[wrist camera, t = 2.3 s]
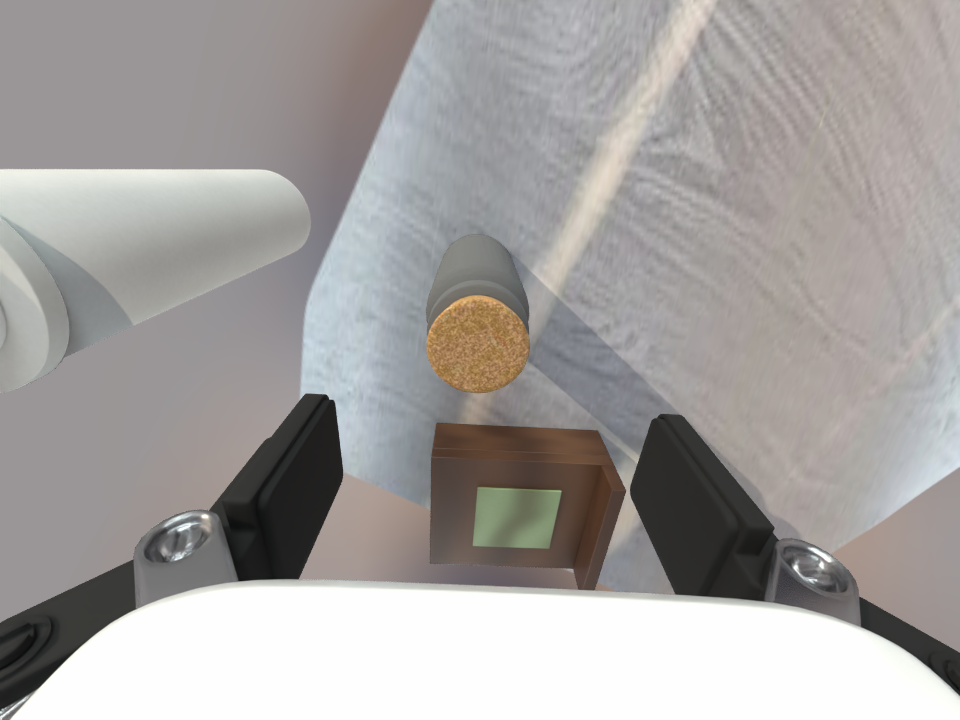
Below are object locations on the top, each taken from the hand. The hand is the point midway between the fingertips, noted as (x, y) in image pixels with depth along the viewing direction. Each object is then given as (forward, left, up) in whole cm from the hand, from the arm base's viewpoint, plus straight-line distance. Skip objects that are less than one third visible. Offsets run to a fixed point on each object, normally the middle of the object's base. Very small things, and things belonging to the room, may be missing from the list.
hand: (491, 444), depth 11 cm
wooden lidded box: (+5, -22, -22) cm, 31 cm away
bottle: (0, 0, -22) cm, 22 cm away
